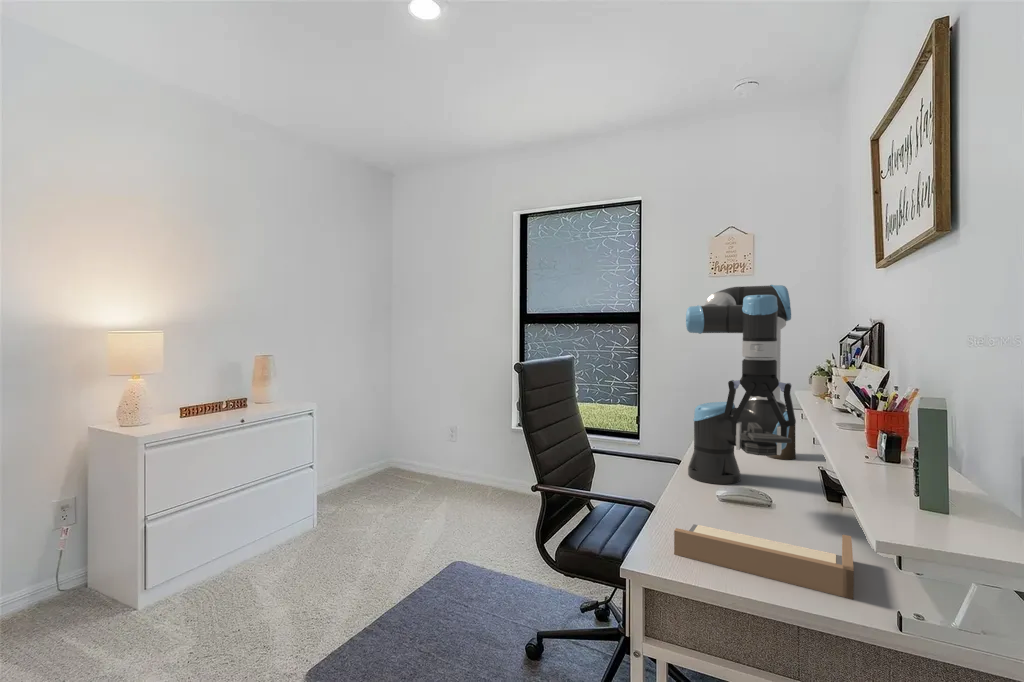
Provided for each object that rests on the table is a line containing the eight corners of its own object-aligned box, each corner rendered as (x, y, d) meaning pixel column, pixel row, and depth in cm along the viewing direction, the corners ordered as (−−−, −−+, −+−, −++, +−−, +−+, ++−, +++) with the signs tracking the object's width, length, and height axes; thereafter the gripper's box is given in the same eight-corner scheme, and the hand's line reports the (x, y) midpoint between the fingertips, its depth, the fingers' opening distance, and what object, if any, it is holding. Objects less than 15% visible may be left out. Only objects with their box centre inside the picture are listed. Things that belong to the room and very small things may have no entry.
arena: (693, 526, 115) (693, 505, 114) (850, 560, 98) (851, 536, 97) (674, 554, 101) (674, 530, 101) (853, 599, 84) (853, 571, 84)
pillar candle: (801, 459, 170) (801, 417, 170) (774, 460, 170) (774, 417, 170) (785, 453, 180) (785, 412, 180) (759, 453, 180) (759, 412, 180)
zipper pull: (750, 437, 107) (733, 415, 131) (750, 466, 107) (733, 440, 131) (795, 439, 104) (770, 417, 128) (795, 469, 105) (770, 441, 128)
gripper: (710, 358, 121) (709, 448, 121) (809, 361, 109) (807, 461, 110) (716, 356, 127) (716, 442, 128) (810, 358, 115) (809, 453, 116)
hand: (758, 450), depth 119 cm, fingers closed on zipper pull, 8 cm apart
